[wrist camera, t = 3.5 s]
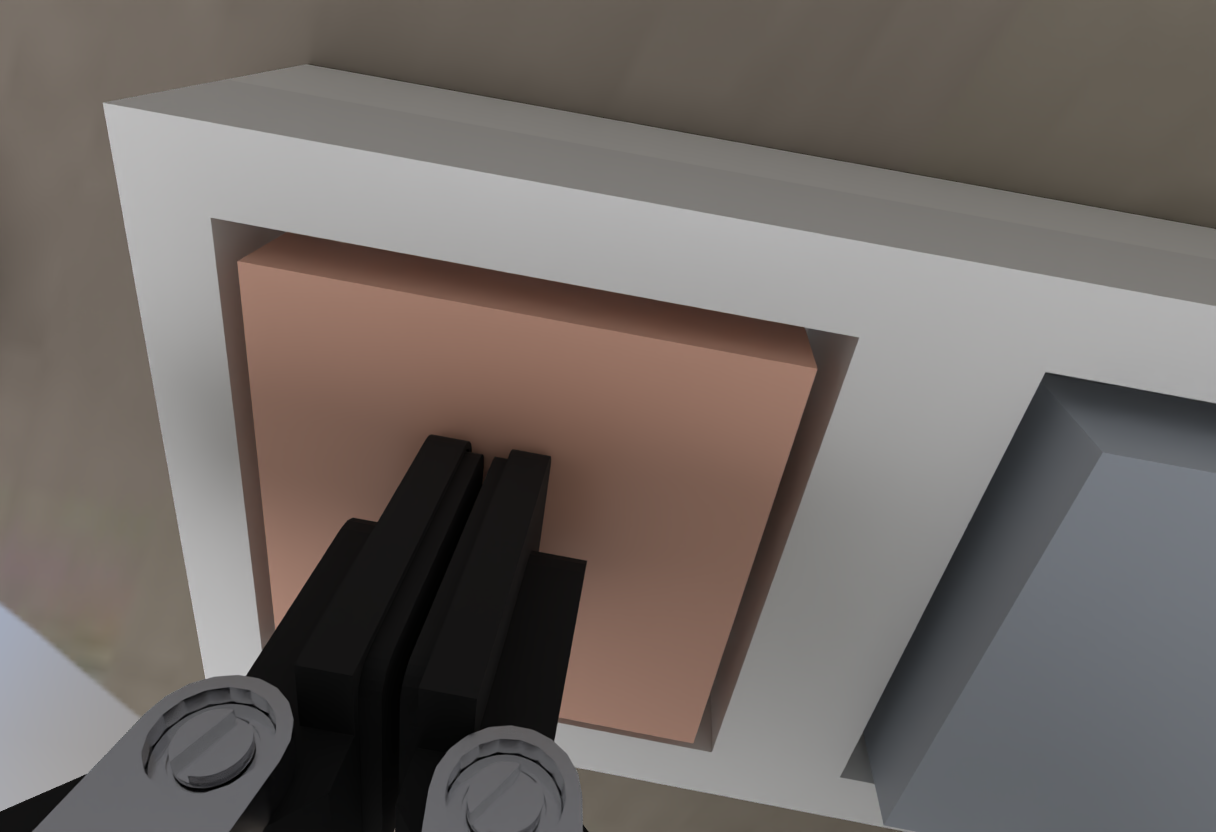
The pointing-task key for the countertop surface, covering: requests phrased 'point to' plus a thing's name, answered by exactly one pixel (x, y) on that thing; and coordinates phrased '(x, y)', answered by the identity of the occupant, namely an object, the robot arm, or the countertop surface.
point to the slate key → (1068, 633)
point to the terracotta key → (533, 440)
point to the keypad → (682, 274)
